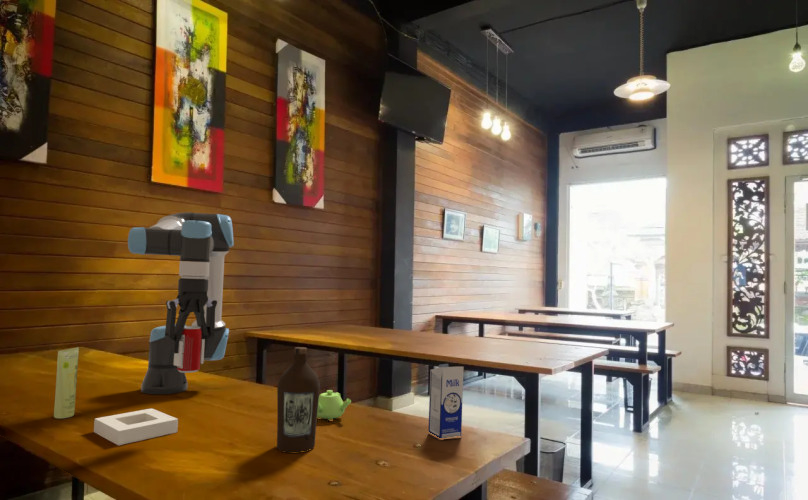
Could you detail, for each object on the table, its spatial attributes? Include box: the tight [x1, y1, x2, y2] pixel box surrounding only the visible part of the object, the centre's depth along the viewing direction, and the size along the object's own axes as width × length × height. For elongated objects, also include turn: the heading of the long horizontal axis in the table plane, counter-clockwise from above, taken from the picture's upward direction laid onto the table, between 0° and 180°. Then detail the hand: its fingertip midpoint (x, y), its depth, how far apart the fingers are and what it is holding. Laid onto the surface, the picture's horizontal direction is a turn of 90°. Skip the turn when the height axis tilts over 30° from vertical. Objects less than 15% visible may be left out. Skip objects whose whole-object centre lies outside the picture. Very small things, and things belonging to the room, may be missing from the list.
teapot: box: [317, 389, 352, 421], centre depth 155 cm, size 11×12×8 cm
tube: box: [53, 346, 80, 419], centre depth 146 cm, size 6×5×20 cm
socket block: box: [93, 407, 179, 446], centre depth 135 cm, size 15×15×4 cm
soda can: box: [177, 325, 202, 374], centre depth 135 cm, size 6×6×12 cm
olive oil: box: [276, 346, 321, 453], centre depth 128 cm, size 11×11×25 cm
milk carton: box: [427, 363, 465, 438], centre depth 142 cm, size 7×7×20 cm
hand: (188, 364), depth 135 cm, fingers closed on soda can, 5 cm apart
